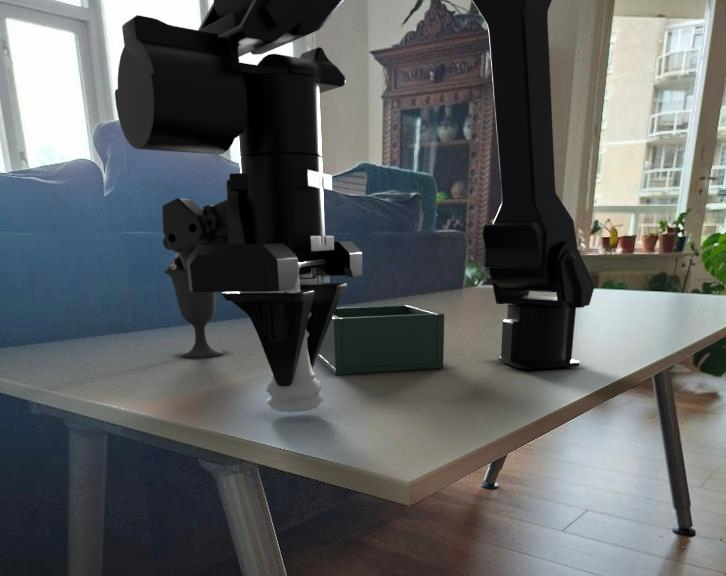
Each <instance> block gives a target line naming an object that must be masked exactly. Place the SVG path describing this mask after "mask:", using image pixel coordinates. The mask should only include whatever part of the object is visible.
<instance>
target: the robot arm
mask: <svg viewBox="0 0 726 576" xmlns="http://www.w3.org/2000/svg"><path fill="white" fill-rule="evenodd" d="M552 1H553V0H471V2H472V4H473V5H474V6H475V8H476V9H477V11H478V12H479V14H480V15H481V17H482V18H483V21H484V23H486V25H487V30H488V39H489V41H488V42H489V52H490V53H489V54H490V66H491V77H492V90H493V102H494V103H493V104H494V116H495V128H496V129H495V130H496V140H497V141H496V142H497V153H498V165H499V177H500V179H499V180H500V191H501V204H500V206H499V208H498V210H497V213H496V216H495V218H494V220H493V222H492V223H486V224H485V225H484V226H483V228H482V238H483V243H484V249H485V259H484V265H483V266H484V268H488V272H489V275H490V279H491V284H492V288H493V293H494V299H495V303H496V305H507V311H506V312H507V313H506V318H504V319H503V320H502V328H501V344H500V345H501V347H500V348H501V349H500V355H499V356H498V357H497V359H498V361H499V362H502V363H504V364H507V365H509V366H512V367H515V368H518V369H520V370H524V371H525V370H540V369H541V370H542V369H557V368H558V369H559V368H570V367H571V368H573V367H580V361H579V360H577V359H576V360H575V359H572V358H573V347H574V333H575V325H576V314H577V312H576V311H577V309H578V308H579V309H582V308H585V307H588V306H590V304H591V301H592V296H593V294H594V289H595V282H594V280H593V278H592V277H591V274H590V272H589V270H588V268H587V266H586V264H585V262H584V259H583V257H582V255H581V254H580V252H579V251H580V250H579V249H578V243H577V235H576V227H575V222H574V219H573V217H572V216H571V214H570V212H569V211H568V210H567V208H566V206H565V205H564V203H563V202H562V200H561V199H560V197H559V195H558V194H557V191H556V177H555V176H556V175H555V153H554V132H553V131H554V129H553V109H552V108H553V107H552V85H551V65H550V64H551V63H550V43H549V42H550V41H549V21H548V19H549V18H548V17H549V9H550V6H551V3H552ZM343 2H345V0H213V2H212V4H211V6H210V7H209V9H208V11H207V13H206V15H205V17H204V19H203V20H202V22H201V23H200V25H199V28H198V29H193V28H187V27H181V26H177V25H172V24H168V23H166V22H163V21H162V20H160V19H157V18H154V17H150V16H145V15H139V14H137V15H135V16H133V17H132V18H130V19H129V20H127V21H126V22H125V23H124V24H122V26H121V29H122V37H123V48H122V52H121V54H120V58H119V63H118V71H117V88H116V89H115V90H114V99H115V107H116V113H117V118H118V122H119V125H120V127H121V130H122V133H123V136H124V138H125V139H126V141H127V142H128V144H129V145H130V146H131V147H132V148H133V149H137V150H142V151H143V150H145V151H146V150H147V151H160V152H173V153H174V152H176V153H192V154H205V155H206V154H207V155H224V154H225V153H226V152H228V151H229V149H230V148H231V147H232V145H233V144H234V141H235V139H236V138H237V141H238V155H239V169H240V172H239V173H237V172H236V173H229V179H227V180H226V199H225V200H222V201H221V202H218V203H216V204H212V205H211V204H206V205H204V206H203V207H202V208H203V209H202V208H201V207H200V206H199V205H198V204H197V203H196V202H195V201H194V200H192V199H191V198H190V199H189V198H180V197H177V198H175V199H173V200H171V201H169V202H167V203H165V204H163V205H162V207H161V208H162V210H161V211H162V213H161V214H162V233H163V236H164V238H163V240H162V244H163V247H164V248H165V249H166V250H168V251H173V252H174V253H176V252H178V254H179V256H180V258H181V261H182V263H183V266H184V268H185V270H186V271H187V272H188V281H189V290H190V291H191V292H216V293H221V294H220V295H221V296H222V298H223V299H224V300H225V301H227V302H232V303H233V304H235V306H237V307H238V308H239V309H240V310H241V311H243V312H244V313H245V314H246V315H247V316H248V317H249V319H250V321H251V323H252V325H253V327H254V329H255V332H256V334H257V337H258V338H259V342H260V344H261V347H262V349H263V352H264V354H265V357H266V360H267V362H268V365H269V368H270V370H271V373H272V374H273V376H274V378H275V381H276V383H277V385H279V386H290V385H291V384H292V382H293V379H294V375H295V372H296V368H297V365H298V360H299V356H300V352H301V348H302V343H303V339H304V335H305V331H306V330H307V332H308V333H309V336H308V338H307V347H308V353H309V358H310V364H311V367H312V369H313V368H314V365H315V363H316V360H317V359H318V358H317V355H318V352H319V350H320V347H321V345H322V342H323V339H324V337H325V334H326V332H327V329H328V327H329V324H330V322H331V319H332V317H333V314H334V312H335V310H336V308H338V305H339V302H340V301H341V298H342V296H343V293H344V291H346V290H347V286H348V285H347V284H348V283H346V282H331V277H339V276H340V277H341V276H343V277H346V278H357V277H361V276H363V252H362V251H361V250H360V249H359V247H357V245H355V244H354V242H353V241H348V240H347V241H346V240H345V241H335V236H334V235H326V227H325V225H326V224H325V201H324V192H329V191H333V177H332V174H327V173H324V172H323V157H322V156H323V149H322V128H321V127H322V126H321V125H322V124H321V100H320V99H321V97H320V94H322V93H325V92H328V91H331V90H336V89H339V88H342V87H344V86H345V84H346V76H345V75H344V73H342V71H341V70H340V69H339V67H338V66H337V65H335V64H334V63H333V62H332V61H331V60H330V59H329V57H328V56H327V55H326V53H325V50H324V49H323V48H322V47H321V46H317V47H315V48H313V49H310V50H307V51H305V52H302V53H301V54H300V56H299V57H296V56H291V55H290V56H289V55H284V54H280V53H269V54H267V55H265V56H264V57H262V59H260V60H259V62H258V63H257V64H251V63H244V62H240V57H243V56H244V55H247V54H249V53H250V54H252V55H254V56H255V55H263V54H265V53H268V52H271V51H273V50H275V49H277V48H280V47H282V46H286V45H287V44H289V43H292V42H294V41H296V40H299V39H302V38H304V37H306V36H309V35H311V34H313V33H316V32H318V31H319V30H320V29H322V27H324V26H325V24H326V23H327V22H328V21H329V20H330V18H331V17H332V16H333V15H334V13H335V12H336V11H337V10H338V8H340V6H341V5H342V4H343ZM530 292H535V293H537V292H538V293H555V294H556V295H555V296H553V295H535V294H534V295H533V294H530ZM310 312H311V316H310V317H309V315H310ZM308 318H309V319H308Z"/></svg>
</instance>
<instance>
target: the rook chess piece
mask: <svg viewBox="0 0 726 576" xmlns="http://www.w3.org/2000/svg"><path fill="white" fill-rule="evenodd" d="M310 316H311V312H310V315H309V317H310ZM308 319H309V318H308ZM308 336H309V333H308V332H307V330H306V331H305V335H304V339H303V343H302V348H301V352H300V356H299V360H298V365H297V368H296V372H295V375H294V379H293V382H292V384H291V385H290V386H279V385H277V383H276V381H275V378H274V376H273V373H272V374H271V376H270V377H271V380H270V381H269V383H268V384H267V387H266V392H267V393H268V395H269V397H268V398H267V399H266V404H267V405H268V407H270V409H272V410H273V411H276V412H281V413H299V412H308V411H313V410H315V409H317V408H319V407H320V405H321V404H322V402H323V401H324V398H323V396H321V395H320V394H319V393H320V392H321V391H322V384H321V382H320V380H319V379H317V378H316V373H315V372H314V370H313V368H312V367H311V364H310V358H309V353H308V347H307V338H308Z"/></svg>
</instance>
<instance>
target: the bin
mask: <svg viewBox="0 0 726 576" xmlns="http://www.w3.org/2000/svg"><path fill="white" fill-rule="evenodd" d="M444 349H445V313H442V312H439V311H434V310H432V309H427V308H424V307H420V306H416V305H413V304H399V305H377V306H376V305H375V306H374V305H372V306H351V307H350V306H349V307H336V310H335V312H334V314H333V317H332V319H331V322H330V324H329V327H328V329H327V332H326V334H325V337H324V339H323V342H322V345H321V347H320V350H319V352H318V355H317V358H316V359H318V360H319V361H320V362H321V363H322V364H323V365H325V366H326V368H328V369H329V371H331V372H332V373H333V374H334V375H335V376H340V375H355V374H356V375H357V374H358V375H359V374H373V373H388V372H390V373H391V372H406V371H421V370H436V369H437V370H438V369H444V355H445V354H444V352H445V351H444Z"/></svg>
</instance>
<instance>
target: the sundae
mask: <svg viewBox="0 0 726 576" xmlns="http://www.w3.org/2000/svg"><path fill="white" fill-rule="evenodd" d="M164 273H165V275H168V276H169V278H171V282H172V285H173V288H174V292H175V295H176V301H177V305H178V308H179V311H180V314H181V317H182V318H183V319H184V320H185V321H186V322H187V323H189V325H190V324H191V326H192V327H193V328H194V336H195V337H194V338H195V340H194V344H193V347H192V348H191V349H189V350H186V351H185V352H181V356H182V357H184V358H188V359H189V358H192V359H193V358H194V359H201V358H213V357H219V356H221V355H223V353H224V352H223V351H222V350H219V349H216V348H215V349H214V348H213V347H211V346H210V345H209V343H208V341H207V336H206V329H205V328H206V325H207V324H208V323H209V322H210V321H211V320H212V319H213V317H214V316H215V314H216V305H217V292H191V291H190V290H189V281H188V272H187V271H186V270H185V268H184V266H183V263H182V261H181V258H180V256H179V254H178V252H175V256H174V258H173V261H172V262H171V263H170V266H168V267H167V269H165V270H164Z"/></svg>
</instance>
